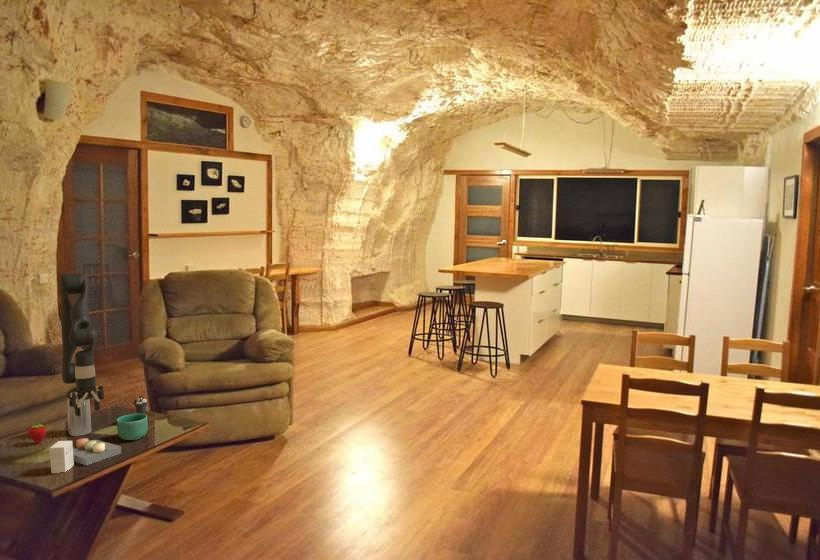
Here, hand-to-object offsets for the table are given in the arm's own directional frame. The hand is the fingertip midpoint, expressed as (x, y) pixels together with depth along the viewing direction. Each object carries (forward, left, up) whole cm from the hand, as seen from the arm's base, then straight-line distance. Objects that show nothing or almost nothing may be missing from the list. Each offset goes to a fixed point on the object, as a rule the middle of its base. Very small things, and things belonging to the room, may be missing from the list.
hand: (87, 413), depth 277 cm
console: (+4, -2, -17) cm, 18 cm away
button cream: (+9, -2, -15) cm, 18 cm away
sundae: (-16, +37, -17) cm, 44 cm away
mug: (-1, +22, -17) cm, 29 cm away
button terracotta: (-2, -2, -15) cm, 15 cm away
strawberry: (-31, -5, -17) cm, 36 cm away
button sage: (+4, -2, -15) cm, 15 cm away
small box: (+8, -17, -17) cm, 26 cm away
